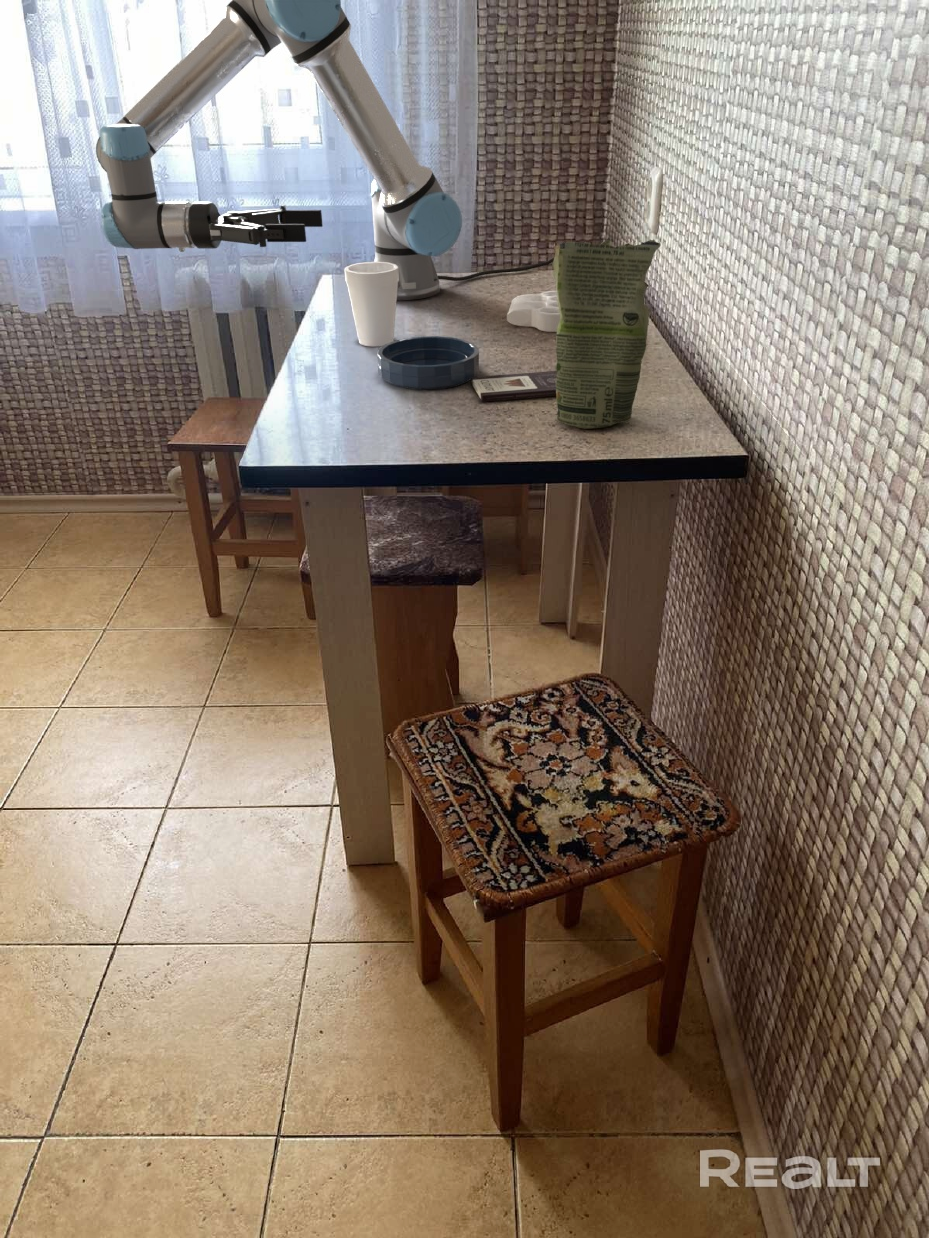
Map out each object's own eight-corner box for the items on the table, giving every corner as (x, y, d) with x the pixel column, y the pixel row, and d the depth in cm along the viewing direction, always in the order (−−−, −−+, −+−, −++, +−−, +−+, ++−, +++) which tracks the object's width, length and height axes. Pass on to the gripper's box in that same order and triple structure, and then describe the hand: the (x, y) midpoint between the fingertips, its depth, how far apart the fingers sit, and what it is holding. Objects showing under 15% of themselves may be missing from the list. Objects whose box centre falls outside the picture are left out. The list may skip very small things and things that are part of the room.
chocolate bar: (595, 386, 147) (482, 395, 144) (594, 392, 147) (482, 401, 145) (578, 369, 154) (471, 377, 152) (578, 374, 155) (471, 383, 152)
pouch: (539, 417, 139) (544, 238, 125) (597, 399, 145) (608, 226, 131) (592, 439, 131) (604, 251, 118) (651, 419, 137) (668, 238, 124)
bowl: (442, 353, 166) (441, 330, 164) (499, 377, 155) (499, 353, 153) (360, 372, 158) (358, 348, 156) (414, 398, 147) (413, 373, 145)
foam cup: (394, 350, 168) (390, 274, 161) (344, 348, 170) (338, 273, 163) (406, 335, 176) (403, 262, 169) (359, 333, 178) (353, 261, 171)
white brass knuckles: (513, 306, 192) (585, 307, 191) (505, 331, 177) (583, 332, 176) (513, 289, 191) (586, 290, 189) (505, 313, 175) (584, 314, 174)
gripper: (218, 234, 177) (329, 234, 175) (173, 263, 156) (299, 264, 155) (211, 191, 173) (325, 190, 171) (165, 215, 152) (294, 215, 150)
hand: (313, 225), depth 163 cm, fingers open, 13 cm apart
